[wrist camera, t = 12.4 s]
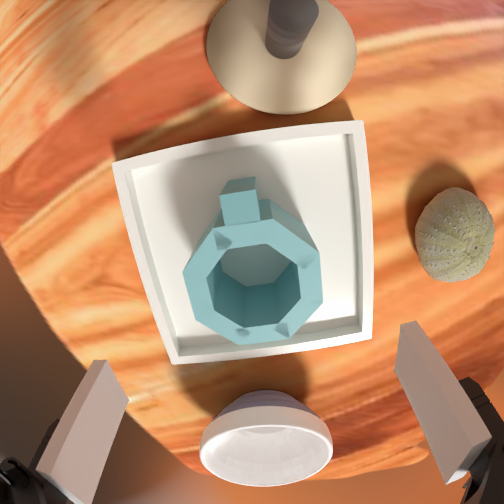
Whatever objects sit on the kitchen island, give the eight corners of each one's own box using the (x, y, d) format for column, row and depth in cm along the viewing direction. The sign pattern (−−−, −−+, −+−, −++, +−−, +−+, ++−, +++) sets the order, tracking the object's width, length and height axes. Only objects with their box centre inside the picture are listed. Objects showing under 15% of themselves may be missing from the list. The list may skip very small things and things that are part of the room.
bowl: (345, 408, 35) (358, 454, 28) (261, 453, 38) (261, 495, 31) (270, 349, 31) (273, 402, 24) (182, 406, 35) (171, 454, 28)
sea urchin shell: (459, 160, 22) (521, 222, 18) (454, 193, 29) (502, 244, 25) (394, 229, 25) (456, 299, 21) (401, 249, 31) (448, 304, 27)
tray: (176, 351, 31) (172, 364, 29) (121, 160, 24) (111, 163, 23) (365, 326, 30) (371, 338, 28) (354, 121, 23) (362, 120, 21)
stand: (220, 125, 24) (203, 119, 16) (199, 0, 19) (177, -48, 11) (364, 109, 23) (410, 99, 15) (337, -13, 19) (365, -59, 11)
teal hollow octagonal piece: (213, 305, 29) (204, 348, 22) (187, 188, 25) (165, 205, 19) (311, 292, 28) (324, 333, 22) (297, 170, 24) (312, 181, 18)
